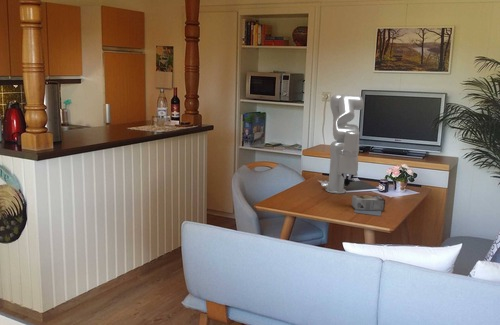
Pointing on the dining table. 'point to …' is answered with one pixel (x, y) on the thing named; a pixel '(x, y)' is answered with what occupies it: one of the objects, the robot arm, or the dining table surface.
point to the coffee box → (368, 202)
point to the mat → (369, 212)
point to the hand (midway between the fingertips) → (346, 185)
